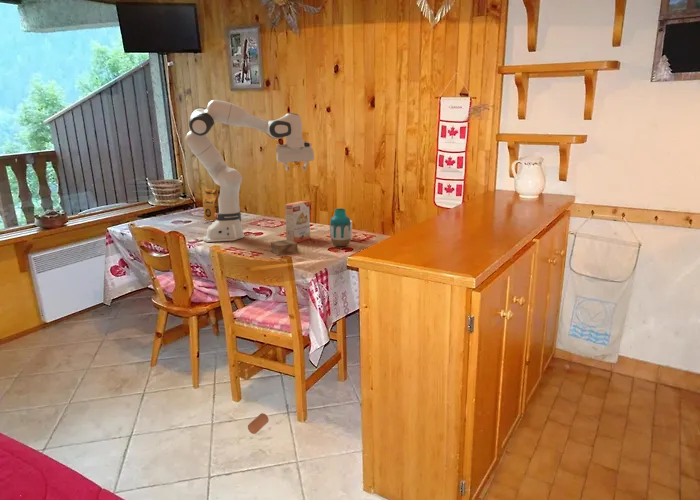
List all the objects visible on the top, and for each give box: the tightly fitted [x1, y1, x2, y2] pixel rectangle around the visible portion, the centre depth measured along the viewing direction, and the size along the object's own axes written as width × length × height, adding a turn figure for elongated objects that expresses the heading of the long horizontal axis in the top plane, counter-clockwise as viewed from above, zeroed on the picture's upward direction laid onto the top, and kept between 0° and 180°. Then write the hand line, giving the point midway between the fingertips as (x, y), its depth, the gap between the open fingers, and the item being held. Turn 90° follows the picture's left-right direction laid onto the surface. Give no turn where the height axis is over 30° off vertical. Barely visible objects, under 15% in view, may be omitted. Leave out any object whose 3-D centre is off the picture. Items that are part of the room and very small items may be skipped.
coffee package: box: [202, 188, 220, 221], centre depth 330 cm, size 10×12×22 cm
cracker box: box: [284, 200, 311, 244], centre depth 274 cm, size 14×6×21 cm, turn 147°
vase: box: [329, 207, 351, 247], centre depth 261 cm, size 11×11×19 cm
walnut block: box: [270, 239, 299, 256], centre depth 253 cm, size 10×10×5 cm
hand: (296, 169), depth 279 cm, fingers open, 8 cm apart
